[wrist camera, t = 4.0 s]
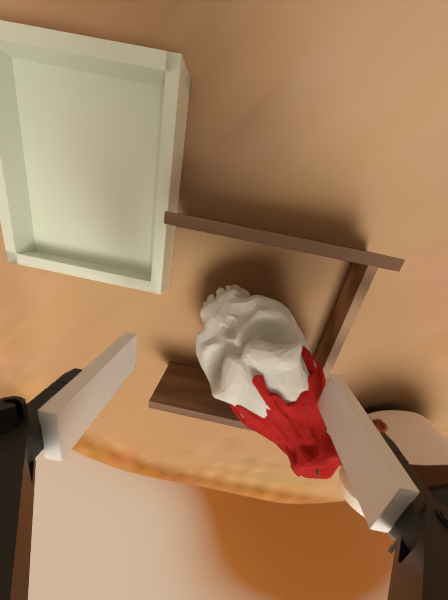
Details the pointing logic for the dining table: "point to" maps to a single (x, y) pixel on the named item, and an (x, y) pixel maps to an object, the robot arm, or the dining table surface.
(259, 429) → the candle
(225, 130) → the dining table surface
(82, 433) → the robot arm
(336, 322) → the walnut holder
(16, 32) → the sage tray
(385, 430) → the spread jar
